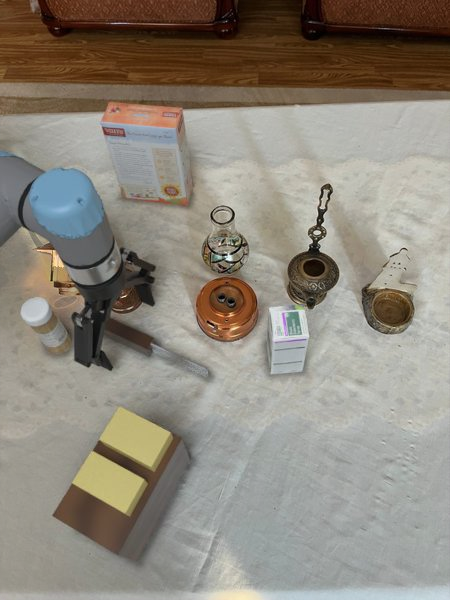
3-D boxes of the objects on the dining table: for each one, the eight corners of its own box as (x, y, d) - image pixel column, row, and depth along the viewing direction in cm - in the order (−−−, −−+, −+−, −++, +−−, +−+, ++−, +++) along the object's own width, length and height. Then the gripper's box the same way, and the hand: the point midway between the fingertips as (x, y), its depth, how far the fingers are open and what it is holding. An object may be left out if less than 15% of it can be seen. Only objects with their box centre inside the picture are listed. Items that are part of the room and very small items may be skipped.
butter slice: (78, 487, 68) (71, 482, 66) (97, 455, 70) (91, 450, 67) (129, 516, 66) (125, 513, 64) (148, 483, 68) (144, 479, 65)
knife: (103, 335, 95) (97, 325, 91) (110, 325, 96) (105, 315, 92) (205, 385, 89) (203, 376, 86) (212, 373, 90) (210, 364, 87)
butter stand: (81, 528, 79) (51, 515, 67) (137, 433, 86) (119, 406, 73) (138, 562, 76) (117, 555, 64) (191, 461, 83) (181, 438, 71)
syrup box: (303, 373, 90) (312, 336, 77) (268, 376, 90) (272, 340, 77) (298, 342, 93) (306, 302, 80) (264, 345, 92) (267, 306, 80)
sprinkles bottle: (60, 328, 96) (34, 290, 84) (78, 341, 94) (54, 304, 82) (42, 347, 94) (13, 311, 82) (60, 360, 92) (33, 326, 81)
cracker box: (194, 186, 111) (184, 106, 93) (188, 208, 108) (176, 129, 90) (130, 179, 113) (108, 98, 95) (123, 200, 110) (98, 122, 92)
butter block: (104, 444, 71) (98, 439, 68) (123, 412, 73) (119, 405, 70) (154, 472, 69) (151, 467, 66) (173, 438, 71) (170, 432, 68)
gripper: (64, 349, 66) (105, 405, 84) (164, 209, 76) (181, 285, 95) (17, 326, 68) (67, 385, 86) (121, 192, 78) (146, 270, 97)
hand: (127, 333), depth 90 cm, fingers open, 13 cm apart
